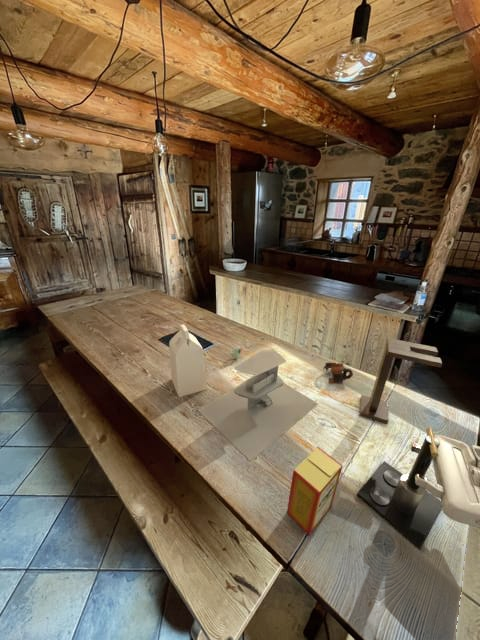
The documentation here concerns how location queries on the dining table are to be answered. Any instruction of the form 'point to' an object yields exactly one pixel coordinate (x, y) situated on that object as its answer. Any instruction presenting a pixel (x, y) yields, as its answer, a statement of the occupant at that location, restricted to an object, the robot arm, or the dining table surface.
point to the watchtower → (257, 406)
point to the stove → (380, 500)
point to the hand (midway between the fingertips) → (413, 461)
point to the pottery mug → (338, 372)
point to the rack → (397, 349)
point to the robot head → (236, 352)
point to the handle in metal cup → (406, 489)
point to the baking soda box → (313, 489)
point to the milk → (187, 363)
